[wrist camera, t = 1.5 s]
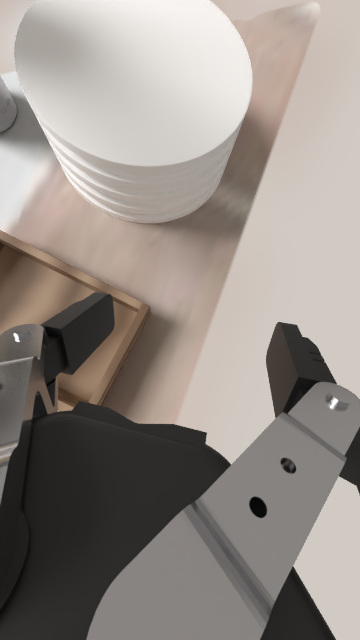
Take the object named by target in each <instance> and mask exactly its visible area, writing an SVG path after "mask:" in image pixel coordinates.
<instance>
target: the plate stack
mask: <svg viewBox="0 0 360 640" xmlns="http://www.w3.org/2000/svg"><path fill="white" fill-rule="evenodd" d="M15 66H16V72H17V76H18V79H19V82H20V85H21V88H22V90H23V92H24V94H25V96H26V98H27V100H28V102H29V104H30V106H31V108H32V110H33V112H34V113H35V116H36V118H37V120H38V122H39V124H40V126H41V128H42V129H43V131H44V133H45V135H46V137H47V139H48V141H49V143H50V145H51V147H52V149H53V151H54V153H55V155H56V157H57V159H58V161H59V163H60V164H61V166H62V168H63V170H64V172H65V174H66V176H67V178H68V180H69V181H70V183H71V184H72V186H73V187H74V188H75V190H76V191H77V192H78V193H79V194H80V195H81V196H82V197H83V198H84V199H85V200H86V201H87V202H89V203H90V204H91V205H93V206H94V207H96V208H97V209H99V210H100V211H102V212H104V213H106V214H108V215H111V216H113V217H116V218H118V219H122V220H125V221H130V222H136V223H162V222H168V221H172V220H175V219H179V218H181V217H184V216H186V215H188V214H190V213H192V212H193V211H195V210H196V209H198V208H199V207H200V206H202V205H203V204H204V203H205V202H206V201H207V200H208V199H209V198H210V197H211V195H212V194H213V193H214V191H215V190H216V188H217V186H218V185H219V182H220V180H221V178H222V175H223V172H224V170H225V167H226V165H227V162H228V159H229V156H230V154H231V151H232V149H233V146H234V143H235V141H236V138H237V136H238V133H239V130H240V128H241V125H242V122H243V120H244V117H245V115H246V112H247V109H248V107H249V103H250V100H251V95H252V86H253V77H252V68H251V62H250V58H249V55H248V52H247V49H246V47H245V44H244V42H243V40H242V38H241V36H240V35H239V33H238V31H237V30H236V28H235V27H234V25H233V24H232V23H231V21H230V20H229V19H228V18H227V16H226V15H225V14H224V13H223V12H222V11H221V10H220V9H219V8H218V7H217V6H216V5H214V4H213V3H212V2H211V1H210V0H35V1H34V2H33V4H32V5H31V6H30V8H29V9H28V10H27V12H26V14H25V15H24V17H23V19H22V21H21V23H20V26H19V29H18V32H17V36H16V41H15Z"/></svg>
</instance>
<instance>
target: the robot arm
mask: <svg viewBox="0 0 360 640" xmlns="http://www.w3.org/2000/svg"><path fill="white" fill-rule="evenodd" d="M16 115H17V107H16V103H15V101H14V99H13V97H12V96H11V94H10V92H9V90H8V89H7V87H6V85H5V83H4V82H3V80H2V78H1V76H0V132H3V131H4V130H6V129H7V128H9V127H10V126H11V125H12V124H13V122H14V120H15V118H16ZM114 326H115V317H114V306H113V298H112V295H111V294H107V293H101V292H94V293H92V294H91V295H89V296H88V297H86V298H85V299H83V300H81V301H78V302H75V303H73V304H72V305H70V306H69V307H67V309H64V310H63V311H61V313H58V314H56V315H55V316H53V317H52V318H50V319H49V320H47V321H45V322H44V323H42V324H41V325H37V324H23V325H19V326H15V327H12V328H10V329H8V330H6V331H5V332H3V333H2V334H1V336H0V640H336V639H335V637H334V635H333V634H332V632H331V630H330V629H329V627H328V625H327V623H326V622H325V620H324V618H323V617H322V615H321V613H320V611H319V610H318V608H317V606H316V605H315V603H314V601H313V599H312V598H311V596H310V594H309V593H308V591H307V589H306V588H305V586H304V584H303V582H302V581H301V579H300V577H299V575H298V574H297V572H296V570H295V569H294V567H293V565H294V563H295V561H296V559H297V557H298V555H299V553H300V551H301V549H302V547H303V545H304V543H305V541H306V539H307V537H308V535H309V533H310V531H311V529H312V527H313V525H314V523H315V521H316V519H317V517H318V515H319V513H320V511H321V509H322V507H323V506H324V504H325V502H326V500H327V497H328V496H329V494H330V492H331V490H332V488H333V486H334V484H335V482H336V480H337V478H338V476H340V477H342V478H343V479H345V480H347V481H349V482H351V483H352V484H354V485H356V486H357V488H358V491H359V493H360V399H359V398H358V397H357V396H356V395H355V394H353V393H352V392H350V391H349V390H347V389H345V388H343V387H342V386H339V385H337V383H336V381H335V379H334V378H333V376H332V374H331V372H330V370H329V368H328V366H327V365H326V363H324V359H323V358H322V356H321V353H320V351H319V349H318V348H317V346H316V345H315V344H314V343H313V342H312V341H310V340H309V339H308V338H305V337H302V335H301V333H300V331H299V329H298V326H297V325H294V324H288V323H282V322H278V323H277V324H276V327H275V330H274V332H273V335H272V338H271V341H270V344H269V348H268V350H267V356H266V365H267V371H268V377H269V383H270V388H271V394H272V400H273V406H274V412H275V417H276V419H275V420H274V421H273V422H272V423H271V424H270V425H269V426H268V427H267V428H266V429H265V430H264V431H263V432H262V434H261V435H260V436H259V437H258V438H257V439H256V440H255V441H254V442H253V443H252V444H251V445H250V446H249V447H248V448H247V449H246V450H245V451H244V452H243V453H242V454H241V455H240V457H239V458H238V459H237V460H236V461H235V462H234V463H233V464H232V465H231V464H230V463H229V462H228V461H227V460H226V459H225V458H224V457H223V456H222V455H221V454H220V453H218V452H217V451H216V450H214V449H213V448H211V447H210V446H208V445H206V444H205V442H206V435H207V433H206V432H202V431H198V430H194V429H190V428H186V427H182V426H178V425H174V424H137V423H134V422H132V421H131V420H129V419H127V418H125V417H124V416H122V415H120V414H118V413H117V412H115V411H113V410H111V409H110V408H107V407H103V406H99V405H95V404H91V403H87V402H83V401H79V402H78V403H77V405H76V406H75V407H74V408H73V410H69V411H60V412H58V378H57V375H58V374H59V373H64V374H68V375H73V374H74V373H75V372H76V371H77V369H78V368H79V367H80V366H81V365H82V364H83V363H84V362H85V361H86V360H87V359H88V358H89V357H90V355H91V354H92V353H93V352H94V351H95V350H96V349H97V348H98V347H99V346H100V345H101V344H102V343H103V341H104V340H105V339H106V338H107V337H108V336H109V335H110V334H111V333H112V331H113V329H114Z"/></svg>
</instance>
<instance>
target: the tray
mask: <svg viewBox="0 0 360 640" xmlns="http://www.w3.org/2000/svg"><path fill="white" fill-rule="evenodd" d="M94 292H101V293H107V294H111V295H112V298H113V306H114V317H115V326H114V329H113V331H112V333H111V334H110V335H109V336H108V337H107V338H106V339H105V340H104V341H103V343H102V344H101V345H100V346H99V347H98V348H97V349H96V350H95V351H94V352H93V353H92V354H91V355H90V357H89V358H88V359H87V360H86V361H85V362H84V363H83V364H82V365H81V366H80V367H79V368H78V369H77V371H76V372H75V373H74V374H73V375H68V374H64V373H59V374H58V375H57V378H58V410H59V411H69V410H73V408H74V407H75V406H76V405H77V403H78V402H79V401H83V402H87V403H91V404H95V405H99V406H101V405H102V403H103V401H104V399H105V398H106V396H107V394H108V392H109V390H110V388H111V386H112V384H113V382H114V381H115V379H116V377H117V375H118V373H119V371H120V369H121V367H122V365H123V364H124V362H125V360H126V358H127V356H128V354H129V352H130V350H131V349H132V347H133V345H134V343H135V341H136V339H137V337H138V335H139V333H140V332H141V330H142V328H143V326H144V324H145V322H146V320H147V318H148V316H149V315H150V306H148V305H146V304H144V303H142V302H140V301H138V300H136V299H134V298H132V297H130V296H129V295H127V294H125V293H123V292H121V291H119V290H117V289H115V288H113V287H111V286H109V285H107V284H105V283H103V282H101V281H99V280H97V279H95V278H93V277H91V276H89V275H87V274H85V273H83V272H81V271H79V270H77V269H75V268H73V267H72V266H70V265H68V264H66V263H64V262H62V261H60V260H58V259H56V258H54V257H52V256H50V255H48V254H46V253H44V252H42V251H40V250H38V249H36V248H34V247H32V246H30V245H28V244H26V243H24V242H22V241H20V240H18V239H16V238H15V237H13V236H11V235H9V234H7V233H5V232H3V231H1V230H0V336H1V334H2V333H3V332H5V331H6V330H8V329H10V328H12V327H15V326H19V325H23V324H37V325H41V324H42V323H44V322H45V321H47V320H49V319H50V318H52V317H53V316H55V315H56V314H58V313H61V311H63V310H64V309H67V307H69V306H70V305H72V304H73V303H75V302H78V301H81V300H83V299H85V298H86V297H88V296H89V295H91V294H92V293H94Z"/></svg>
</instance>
